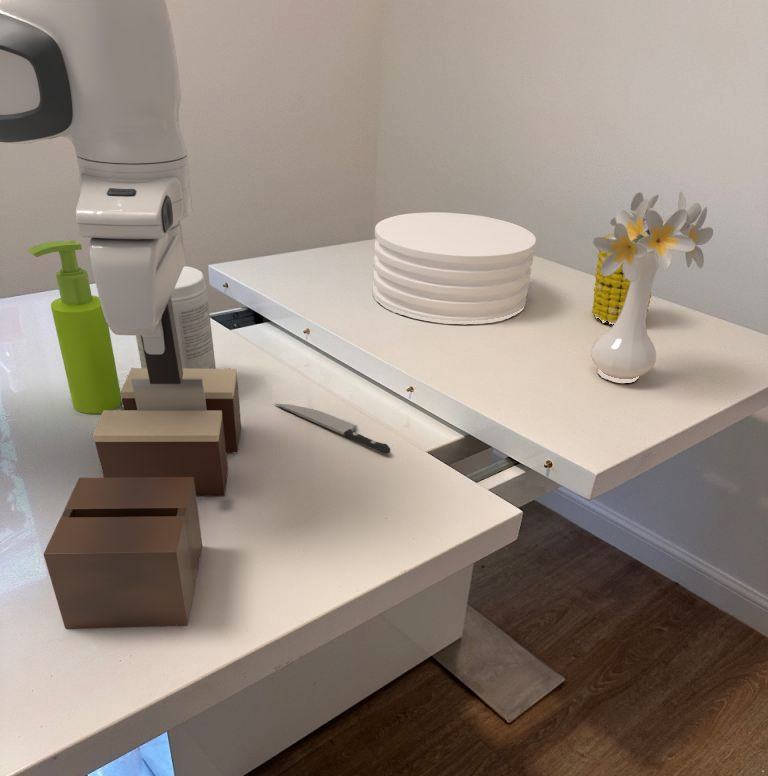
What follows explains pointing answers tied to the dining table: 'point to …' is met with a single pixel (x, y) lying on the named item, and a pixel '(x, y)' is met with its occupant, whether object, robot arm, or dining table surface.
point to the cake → (217, 395)
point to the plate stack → (452, 265)
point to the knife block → (126, 552)
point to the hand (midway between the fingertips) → (159, 344)
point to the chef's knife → (334, 425)
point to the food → (610, 291)
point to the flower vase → (643, 276)
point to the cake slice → (164, 446)
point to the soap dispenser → (82, 334)
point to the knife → (168, 376)
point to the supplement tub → (190, 322)
